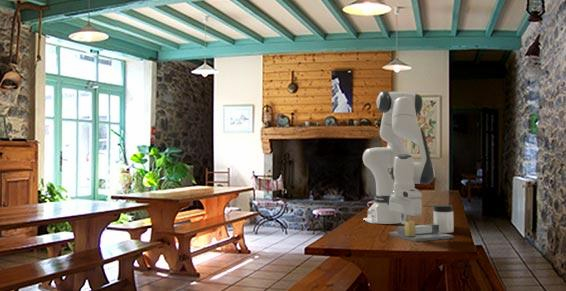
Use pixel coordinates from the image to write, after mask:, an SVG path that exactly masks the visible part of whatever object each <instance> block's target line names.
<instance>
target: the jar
mask: <svg viewBox="0 0 566 291" xmlns="http://www.w3.org/2000/svg"><path fill="white" fill-rule="evenodd" d="M432 211H433V212H432V213H433V215H432V216H433V223H432V224H436V225H439V233H444V234H451V233H454V226H455V225H454V224H455V223H454V211H453V205H451V204H434V205H433V210H432Z"/></svg>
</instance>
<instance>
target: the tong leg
mask: <svg viewBox="0 0 566 291" xmlns="http://www.w3.org/2000/svg"><path fill="white" fill-rule="evenodd" d="M432 224H433V223H432ZM437 232H439V225H436V224H433V225H425V226H417V225H415V234H423V233H437Z"/></svg>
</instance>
